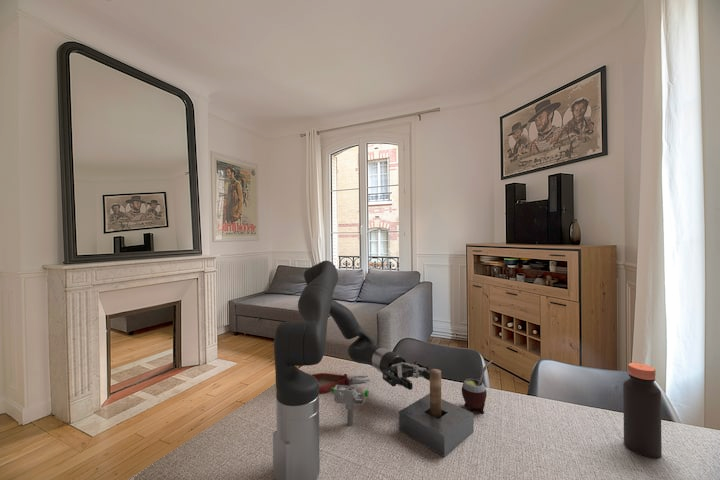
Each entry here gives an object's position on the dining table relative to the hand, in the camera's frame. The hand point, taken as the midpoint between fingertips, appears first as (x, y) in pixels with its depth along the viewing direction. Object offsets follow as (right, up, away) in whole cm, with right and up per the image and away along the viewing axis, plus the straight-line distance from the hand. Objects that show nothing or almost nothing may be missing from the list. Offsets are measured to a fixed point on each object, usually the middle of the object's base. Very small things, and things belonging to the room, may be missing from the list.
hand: (423, 382), depth 85 cm
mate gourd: (+17, -11, +6) cm, 22 cm away
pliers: (-26, -12, +22) cm, 36 cm away
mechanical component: (-21, -11, -1) cm, 24 cm away
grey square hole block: (+3, -11, -4) cm, 12 cm away
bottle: (+51, -11, -12) cm, 54 cm away
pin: (+3, -11, -4) cm, 12 cm away
